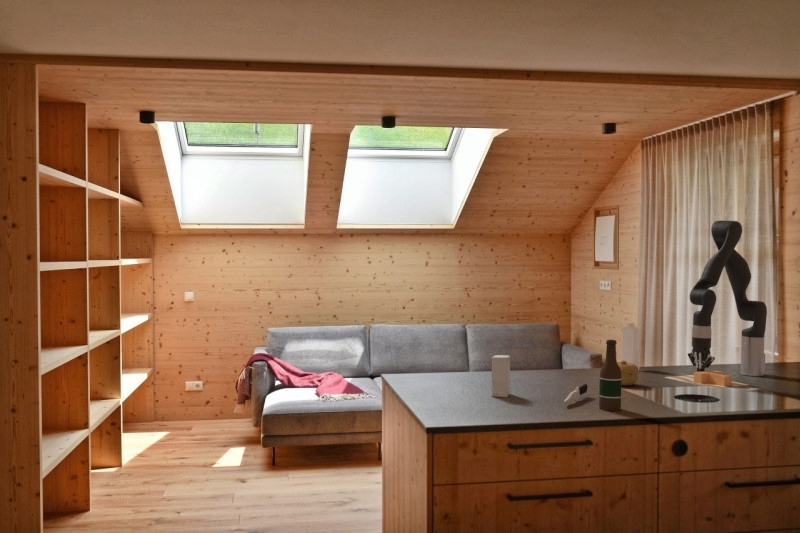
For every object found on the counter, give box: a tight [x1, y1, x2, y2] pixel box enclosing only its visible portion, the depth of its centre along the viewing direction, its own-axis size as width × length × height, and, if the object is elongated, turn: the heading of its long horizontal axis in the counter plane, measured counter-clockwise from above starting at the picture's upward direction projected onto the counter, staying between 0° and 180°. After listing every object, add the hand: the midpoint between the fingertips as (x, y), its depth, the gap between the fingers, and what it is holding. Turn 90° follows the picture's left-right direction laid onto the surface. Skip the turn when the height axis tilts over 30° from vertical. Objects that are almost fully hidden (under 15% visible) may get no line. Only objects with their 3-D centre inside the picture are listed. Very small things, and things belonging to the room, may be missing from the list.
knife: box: [563, 383, 588, 407], centre depth 262 cm, size 25×2×5 cm, turn 148°
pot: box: [617, 360, 639, 387], centre depth 297 cm, size 12×12×10 cm
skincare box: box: [491, 354, 511, 398], centre depth 272 cm, size 8×6×15 cm
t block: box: [693, 370, 733, 386], centre depth 297 cm, size 12×12×4 cm
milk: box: [620, 322, 641, 372], centre depth 332 cm, size 6×6×22 cm
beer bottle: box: [598, 339, 622, 412], centre depth 251 cm, size 8×8×24 cm
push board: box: [664, 374, 748, 389], centre depth 302 cm, size 20×26×1 cm
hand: (700, 377), depth 305 cm, fingers closed
